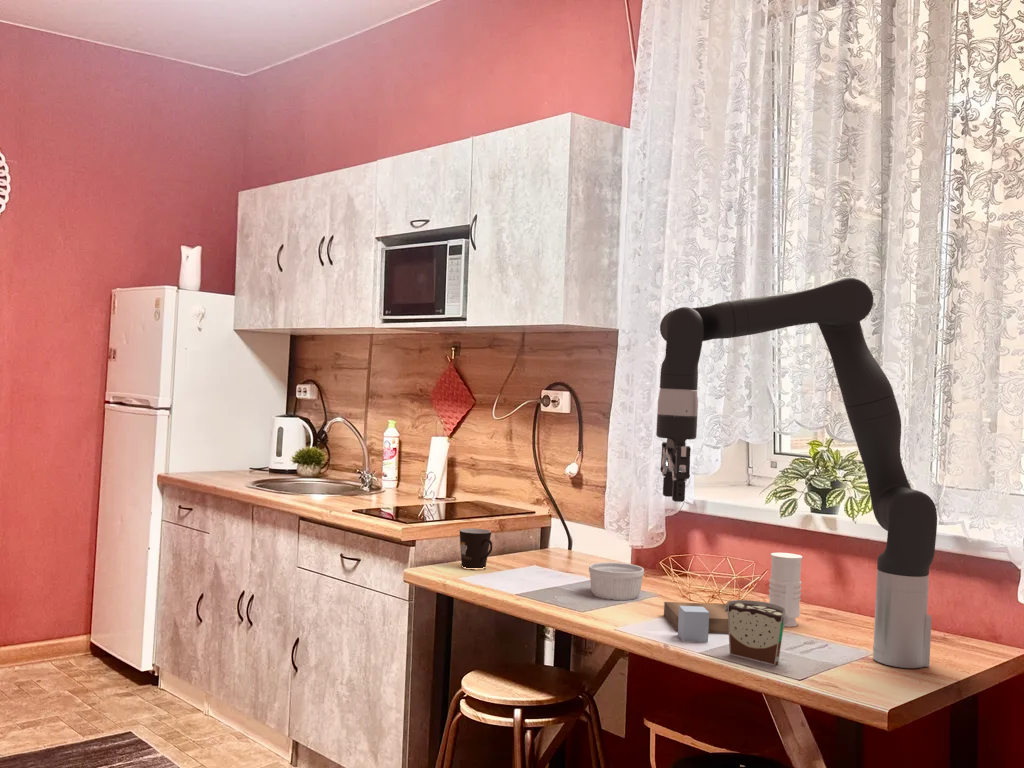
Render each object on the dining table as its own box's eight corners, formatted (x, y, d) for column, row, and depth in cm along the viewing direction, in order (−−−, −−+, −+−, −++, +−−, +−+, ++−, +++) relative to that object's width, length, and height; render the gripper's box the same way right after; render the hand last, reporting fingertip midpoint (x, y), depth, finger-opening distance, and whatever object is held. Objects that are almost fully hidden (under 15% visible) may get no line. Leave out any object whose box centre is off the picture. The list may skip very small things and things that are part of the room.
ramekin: (590, 600, 222) (592, 571, 222) (584, 588, 235) (586, 560, 235) (647, 603, 223) (648, 573, 223) (637, 591, 236) (639, 563, 236)
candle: (771, 626, 205) (775, 557, 205) (763, 618, 212) (766, 551, 212) (803, 628, 205) (807, 558, 205) (794, 620, 212) (797, 553, 212)
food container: (797, 661, 178) (800, 608, 178) (782, 667, 173) (785, 613, 173) (738, 647, 186) (740, 596, 186) (722, 652, 182) (725, 600, 182)
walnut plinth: (725, 617, 211) (726, 604, 211) (744, 634, 197) (744, 619, 197) (663, 615, 210) (664, 601, 210) (677, 631, 196) (678, 617, 196)
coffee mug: (455, 564, 258) (457, 528, 259) (486, 565, 260) (488, 528, 260) (461, 573, 247) (463, 534, 247) (493, 573, 249) (495, 535, 249)
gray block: (701, 635, 194) (703, 606, 194) (707, 642, 189) (709, 612, 189) (677, 634, 194) (679, 605, 194) (683, 641, 189) (684, 611, 189)
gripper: (706, 415, 172) (702, 504, 172) (688, 413, 187) (684, 495, 187) (665, 413, 172) (661, 502, 172) (650, 411, 186) (646, 493, 186)
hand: (673, 498), depth 179 cm, fingers open, 8 cm apart
